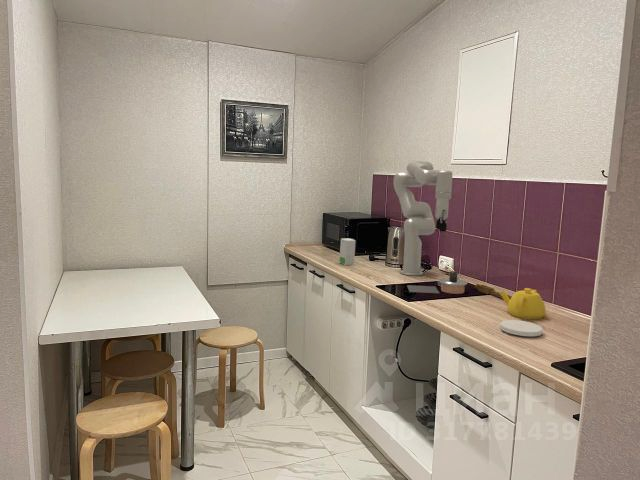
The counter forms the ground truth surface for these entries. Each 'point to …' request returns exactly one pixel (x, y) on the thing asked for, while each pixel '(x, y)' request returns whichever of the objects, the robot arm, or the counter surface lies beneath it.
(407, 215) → the robot arm
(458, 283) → the lid
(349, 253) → the white cylinder
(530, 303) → the teapot
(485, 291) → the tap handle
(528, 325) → the plastic lid
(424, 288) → the mat
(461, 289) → the bowl
